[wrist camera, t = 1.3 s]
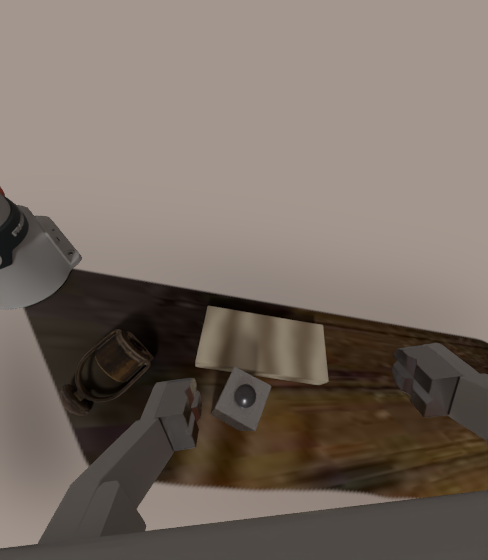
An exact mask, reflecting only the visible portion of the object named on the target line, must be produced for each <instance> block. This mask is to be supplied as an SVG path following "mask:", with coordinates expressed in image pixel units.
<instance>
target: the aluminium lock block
mask: <svg viewBox="0 0 488 560" xmlns="http://www.w3.org/2000/svg"><path fill="white" fill-rule="evenodd" d="M270 389H271V386H270V385H268V384H266V383H265V382H263V381H261V380H259V379H257V378H255V377H253V376H252V375H250V374H248V373H246V372H244V371H242V370H240V369H239V368H237V367H234V369H233V371H232V372H231V374H230V376H229V378H228V380H227V382H226V384H225V386H224V388H223V390H222V392H221V394H220V396H219V398H218V400H217V402H216V404H215V407H214V409H213V411H212V413H211V415H213V416H215V417H216V418H218V419H220V420H222V421H223V422H225V423H227V424H229V425H230V426H232V427H234V428H236V429H237V430H239V431H255V430H256V428H257V425H258V422H259V419H260V416H261V414H262V411H263V408H264V405H265V403H266V400H267V397H268V394H269V391H270Z"/></svg>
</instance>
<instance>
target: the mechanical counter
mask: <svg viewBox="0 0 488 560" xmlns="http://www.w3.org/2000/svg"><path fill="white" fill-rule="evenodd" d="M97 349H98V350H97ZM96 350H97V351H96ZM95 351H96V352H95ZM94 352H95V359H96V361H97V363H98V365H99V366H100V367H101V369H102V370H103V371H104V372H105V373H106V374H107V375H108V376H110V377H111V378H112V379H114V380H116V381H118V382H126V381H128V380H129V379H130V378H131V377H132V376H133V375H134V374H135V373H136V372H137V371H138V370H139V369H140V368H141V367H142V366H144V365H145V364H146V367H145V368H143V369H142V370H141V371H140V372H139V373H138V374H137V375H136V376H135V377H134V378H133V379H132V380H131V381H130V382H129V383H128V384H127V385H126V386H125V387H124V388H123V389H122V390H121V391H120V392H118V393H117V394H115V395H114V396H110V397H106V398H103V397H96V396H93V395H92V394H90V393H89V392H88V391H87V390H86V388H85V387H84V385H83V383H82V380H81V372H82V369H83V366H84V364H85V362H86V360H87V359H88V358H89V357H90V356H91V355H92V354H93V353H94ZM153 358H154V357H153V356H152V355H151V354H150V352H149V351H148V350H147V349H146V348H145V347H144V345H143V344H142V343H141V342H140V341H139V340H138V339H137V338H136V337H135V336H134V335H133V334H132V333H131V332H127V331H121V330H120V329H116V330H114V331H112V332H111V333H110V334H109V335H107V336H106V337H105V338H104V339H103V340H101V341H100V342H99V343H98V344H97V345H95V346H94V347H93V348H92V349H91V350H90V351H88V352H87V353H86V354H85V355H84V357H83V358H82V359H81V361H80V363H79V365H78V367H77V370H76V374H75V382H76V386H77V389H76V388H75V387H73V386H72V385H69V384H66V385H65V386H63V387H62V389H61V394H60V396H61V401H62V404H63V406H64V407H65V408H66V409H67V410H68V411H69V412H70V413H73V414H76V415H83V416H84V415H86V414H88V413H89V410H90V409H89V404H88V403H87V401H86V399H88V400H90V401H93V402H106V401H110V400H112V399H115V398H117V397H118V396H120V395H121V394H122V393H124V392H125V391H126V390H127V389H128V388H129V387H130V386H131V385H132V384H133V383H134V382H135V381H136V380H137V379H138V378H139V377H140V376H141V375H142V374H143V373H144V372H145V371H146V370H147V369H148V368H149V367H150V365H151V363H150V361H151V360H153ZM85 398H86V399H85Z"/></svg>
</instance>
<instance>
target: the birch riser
mask: <svg viewBox="0 0 488 560" xmlns="http://www.w3.org/2000/svg"><path fill="white" fill-rule="evenodd" d="M196 367H201V368H208V369H215V370H221V371H228V372H232V371H233V369H234V367H237V368H239V369H240V370H242V371H244V372H246V373H248V374H250V375H255V376H262V377H268V378H275V379H282V380H288V381H295V382H302V383H309V384H315V385H321V384H323V383H326V382H328V372H327V362H326V352H325V342H324V332H323V325H319V324H313V323H307V322H301V321H295V320H289V319H284V318H278V317H272V316H266V315H260V314H254V313H248V312H242V311H236V310H231V309H225V308H219V307H213V306H208V308H207V312H206V317H205V321H204V326H203V330H202V335H201V339H200V344H199V348H198V353H197V357H196Z"/></svg>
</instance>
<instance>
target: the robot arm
mask: <svg viewBox="0 0 488 560" xmlns="http://www.w3.org/2000/svg"><path fill="white" fill-rule="evenodd" d="M71 254H72V255H71ZM81 259H82V257H81V255H80V254H79V253H78V252H77V250H76V249H75V248H74V247H73V246H72V244H71V243H70V242H69V241H68V239H67V238H66V237H65V236H64V235H63V233H62V232H61V231H60V230H59V228H58V227H57V226H56V225H55V224H54V222H53V221H52V220H51V219H50V218H49V217H46V216H34V215H33V214H32V213H31V211H30V210H29V209H28V208H27V207H24V206H20V205H16V204H14V203H13V202H12V201H10V200H9V199H8V198H6V197H5V194H4V192H3V190H2V189H1V187H0V309H17V308H22V307H26V306H29V305H32V304H35V303H37V302H39V301H41V300H43V299H45V298H47V297H48V296H50V295H51V294H53V293H54V292H55V291H57V290H58V289H59V288H60V287H61V286H62V284H63V283H64V282H65V280H66V279H67V277H68V275H69V273H70V271H71V270H72V269H73V268H74V267H75V266H76V265H77V264H78V263H79V262H80V261H81ZM394 357H395V358H396V359H397V362H396V363H395V364H394V365H393V376H394V379H395V381H396V383H397V385H398V386H399V387H400V389H401V390H402V391H404V392H406V393H407V394H409V395H410V401H411V402H412V404H413V405H414V406H415V407H416V408H417V410H418V411H419V412H420V413H421V415H422V416H423V417H433V416H443V415H449V417H451V418H452V419H454V420H455V421H457V422H459V423H460V424H462V425H463V426H465V427H466V428H468V429H469V430H471V431H473V432H474V433H476V434H477V435H479V436H480V437H482V438H484V439H485V440H487V441H488V375H487V374H479V373H478V372H477V371H475V370H474V369H473V368H472V367H470V366H469V365H468V364H466V363H465V362H464V361H462V360H461V359H460V358H459V357H457V356H456V355H455V354H453V353H452V352H451V351H449V350H448V349H447V348H445V347H444V346H443V345H441V344H439V343H433V344H426V345H420V346H413V347H407V348H400V349H397V350H396V351H395V355H394ZM196 386H197V384H196V381H195V379H194V378H189V379H180V380H172V381H165V382H157V383H156V384H155V386H154V388H153V390H152V393H151V395H150V397H149V400H148V402H147V405H146V407H145V409H144V412H143V414H142V417H141V419H140V420H139V421H136V422H135V423H134V424H133V425H131V426H130V427H129V428H128V429H127V430H126V431H125V432H124V433H123V434H122V435H121V436H120V437H119V438H118V439H117V440H116V441H115V442H114V443H113V444H112V445H111V446H110V447H109V448H108V449H107V450H106V451H105V452H104V453H103V454H102V455H101V456H100V457H99V458H98V459H97V460H96V461H95V462H94V463H93V464H91V465H90V466H89V467H88V468H87V469H86V470H85V471H84V472H83V473H82V474H81V475H80V476H79V477H78V478H77V479H76V480H75V481H74V482H73V483H72V484H71V485H70V488H69V489H68V491H67V492H66V494H65V496H64V498H63V500H62V501H61V503H60V505H59V507H58V508H57V510H56V512H55V514H54V516H53V517H52V519H51V521H50V523H49V524H48V526H47V528H46V530H45V532H44V534H43V535H42V537H41V539H40V541H39V542H38V544H34V545H26V546H18V547H9V548H1V549H0V560H488V490H486V491H477V492H469V493H461V494H452V495H444V496H435V497H427V498H419V499H410V500H402V501H394V502H386V503H377V504H369V505H360V506H352V507H344V508H335V509H326V510H318V511H311V512H301V513H293V514H285V515H276V516H268V517H260V518H251V519H244V520H234V521H227V522H218V523H210V524H201V525H193V526H185V527H177V528H168V529H160V530H152V531H145V529H146V524H145V522H144V520H143V519H142V517H141V516H140V514H139V513H138V511H137V510H136V509H137V507H138V505H139V504H140V503H141V501H142V500H143V498H144V497H145V495H146V493H147V492H148V491H149V489H150V488H151V486H152V484H153V483H154V481H155V480H156V478H157V477H158V475H159V474H160V472H161V471H162V469H163V468H164V466H165V465H166V463H167V462H168V460H169V459H170V457H171V456H172V454H173V451H176V450H183V449H189V448H195V447H196V443H197V437H198V431H199V428H198V425H197V422H198V421H199V419H200V418H201V411H202V402H201V396H200V393H199V392H198V391H196Z"/></svg>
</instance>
